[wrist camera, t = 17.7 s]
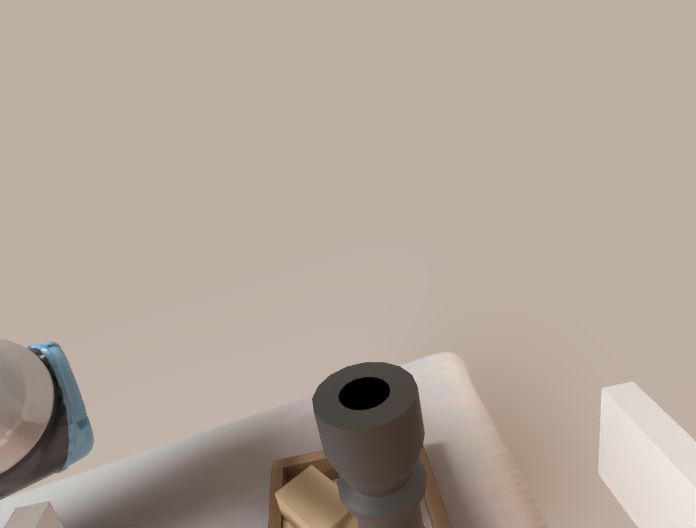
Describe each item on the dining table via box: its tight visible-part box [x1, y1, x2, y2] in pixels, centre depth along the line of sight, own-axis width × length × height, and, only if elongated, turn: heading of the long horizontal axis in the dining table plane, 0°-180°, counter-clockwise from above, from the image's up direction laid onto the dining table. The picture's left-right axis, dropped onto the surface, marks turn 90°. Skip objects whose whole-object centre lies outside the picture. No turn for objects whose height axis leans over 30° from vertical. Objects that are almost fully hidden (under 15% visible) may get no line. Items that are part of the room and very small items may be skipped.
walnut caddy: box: [268, 446, 451, 528], centre depth 48 cm, size 16×16×3 cm
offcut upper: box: [275, 465, 359, 528], centre depth 46 cm, size 4×7×3 cm, turn 42°
